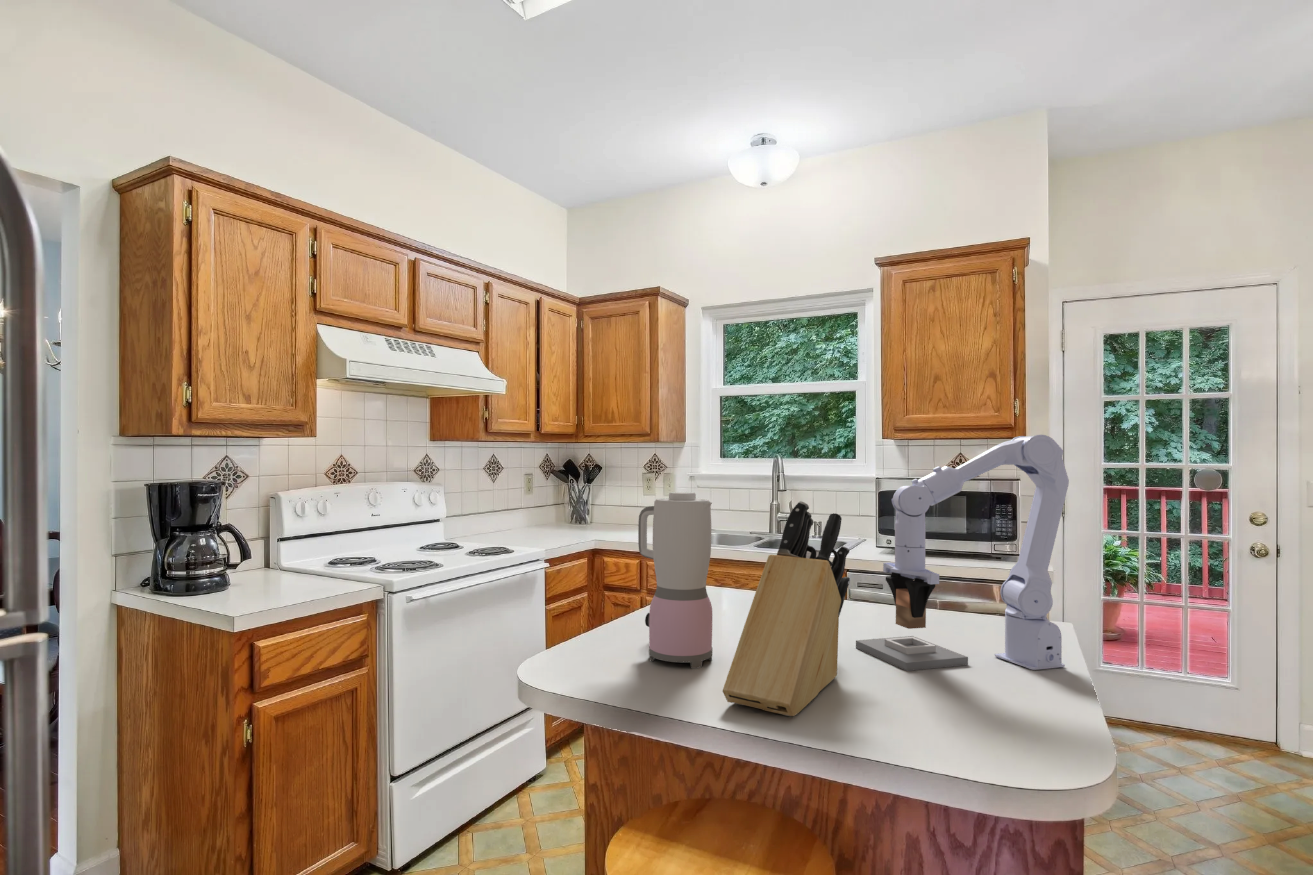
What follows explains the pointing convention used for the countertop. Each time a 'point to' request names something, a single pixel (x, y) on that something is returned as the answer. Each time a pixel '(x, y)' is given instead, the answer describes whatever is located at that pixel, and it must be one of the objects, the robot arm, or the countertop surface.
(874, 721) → the countertop surface
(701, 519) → the blender
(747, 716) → the countertop surface
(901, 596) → the copper rectangular block
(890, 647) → the collar board
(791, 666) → the knife block
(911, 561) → the robot arm
